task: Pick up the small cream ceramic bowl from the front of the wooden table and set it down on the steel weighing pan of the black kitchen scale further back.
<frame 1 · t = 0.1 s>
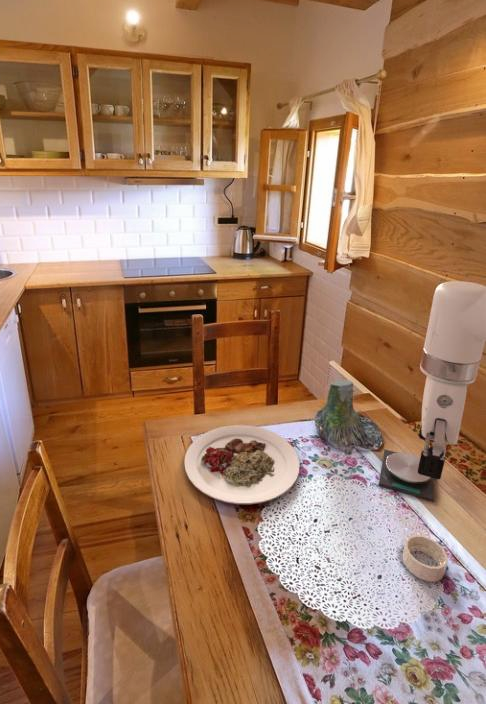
hand: (428, 456, 67), 29 cm above the table, tool pointing down, fingers open, 9 cm apart
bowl: (422, 567, 80), on the table
plated food: (241, 465, 107), on the table
scale pan: (407, 468, 101), point 3 cm above the table, slide at 0.0 cm
tree stump: (345, 432, 120), on the table
scale: (405, 478, 102), on the table
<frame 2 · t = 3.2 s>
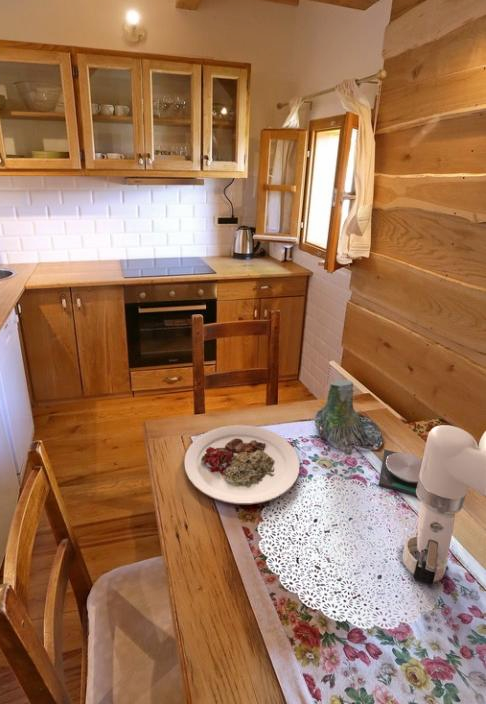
hand: (423, 562, 79), 1 cm above the table, tool pointing down, fingers closed on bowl, 7 cm apart
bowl: (422, 567, 80), on the table, touching gripper
everything else where it was.
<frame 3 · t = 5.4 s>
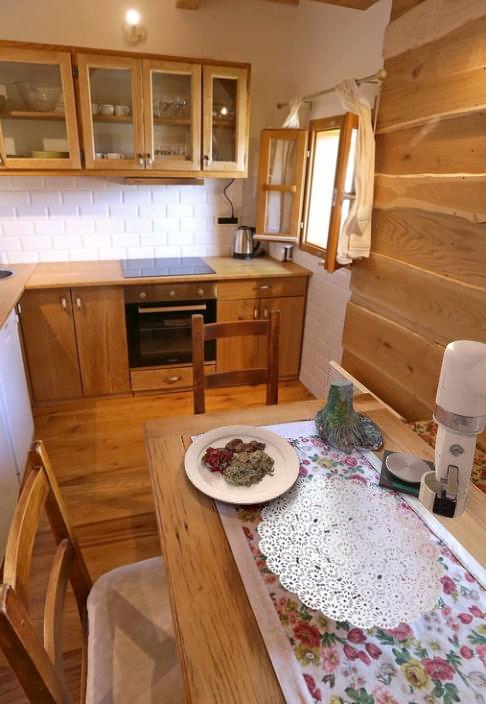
hand: (441, 497, 73), 18 cm above the table, tool pointing down, fingers closed on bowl, 7 cm apart
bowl: (440, 504, 74), point 16 cm above the table, touching gripper
everything else where it was.
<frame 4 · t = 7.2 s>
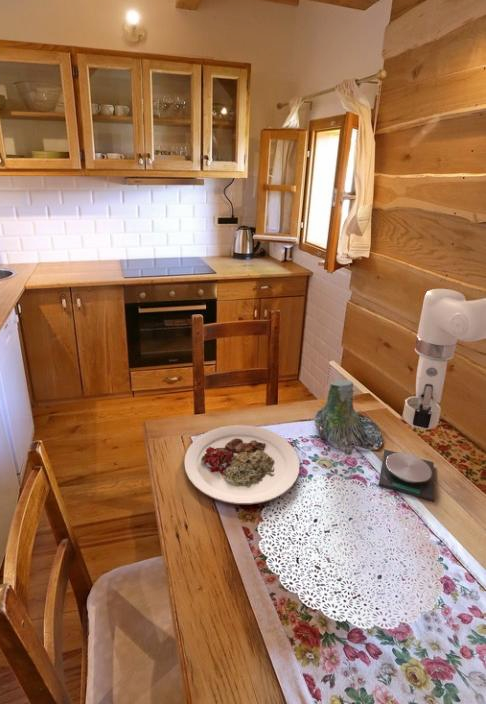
hand: (420, 416, 93), 20 cm above the table, tool pointing down, fingers closed on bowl, 7 cm apart
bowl: (419, 421, 94), point 18 cm above the table, touching gripper
everything else where it was.
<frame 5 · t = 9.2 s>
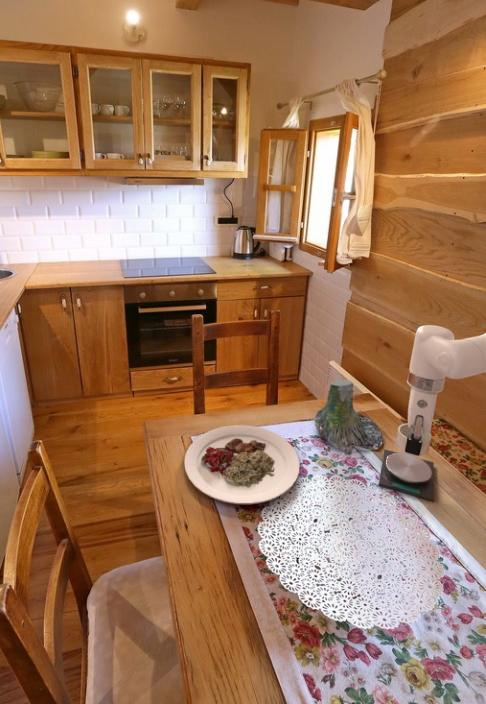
hand: (412, 442, 98), 11 cm above the table, tool pointing down, fingers closed on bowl, 7 cm apart
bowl: (411, 447, 99), point 9 cm above the table, touching gripper
everything else where it was.
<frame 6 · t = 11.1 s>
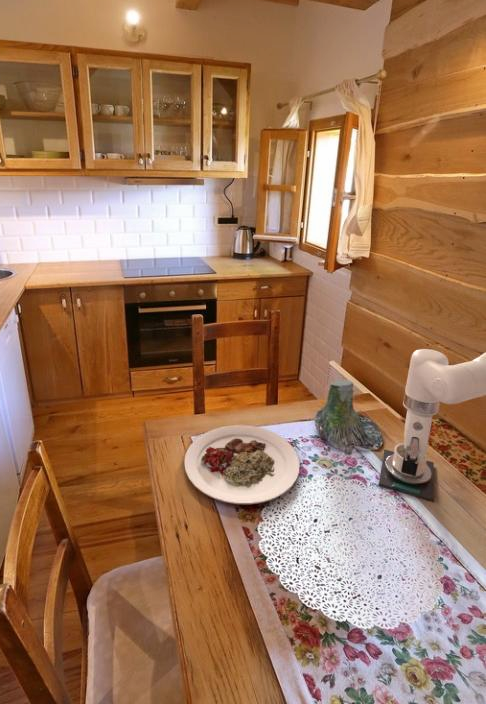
hand: (409, 462, 101), 5 cm above the table, tool pointing down, fingers closed on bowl, 7 cm apart
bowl: (407, 467, 101), point 4 cm above the table, touching gripper, scale pan
scale pan: (407, 469, 101), point 3 cm above the table, slide at -0.3 cm, touching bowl
everything else where it was.
when the fingers open (5 cm above the table, at t = 11.2 s): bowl stays where it is, resting on scale pan.
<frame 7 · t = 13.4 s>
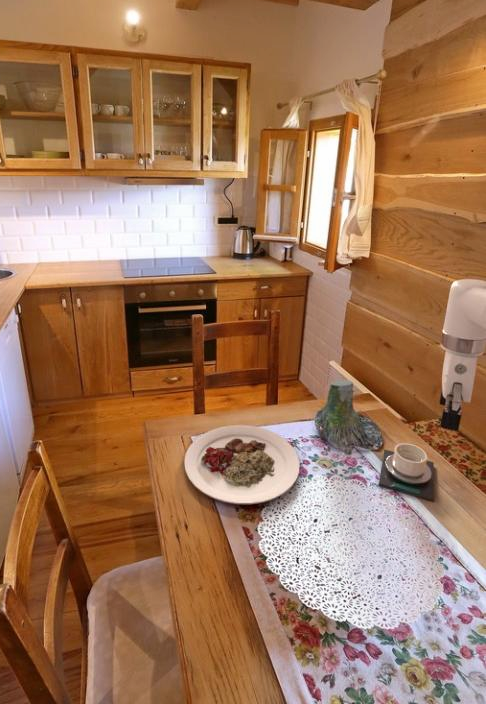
hand: (448, 416, 86), 24 cm above the table, tool pointing down, fingers open, 9 cm apart
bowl: (407, 467, 101), point 4 cm above the table, touching scale pan
everything else where it was.
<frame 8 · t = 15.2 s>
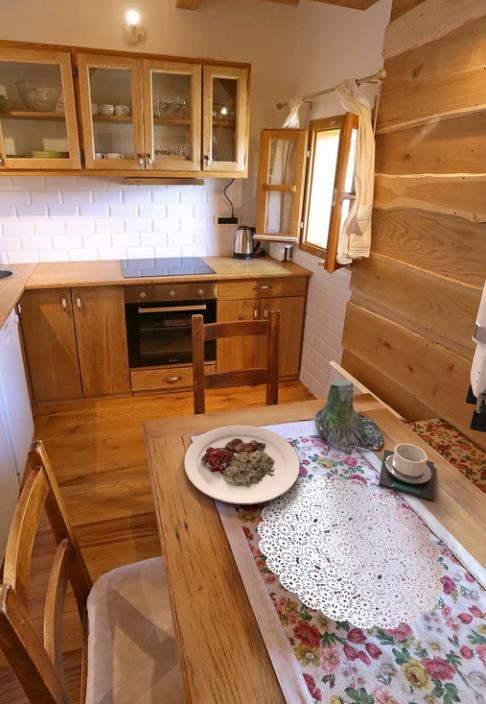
hand: (476, 416, 78), 28 cm above the table, tool pointing down, fingers open, 9 cm apart
nothing on the table moved.
at the end: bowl 0.1 cm off-centre on the scale, point 3.5 cm above the scale's base; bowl tilted 0°; the gripper is holding nothing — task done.
